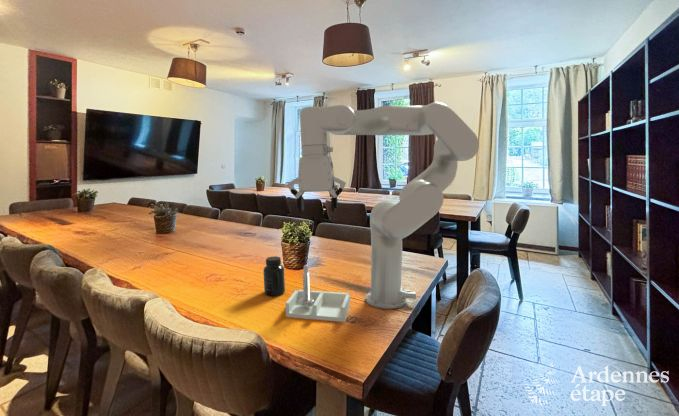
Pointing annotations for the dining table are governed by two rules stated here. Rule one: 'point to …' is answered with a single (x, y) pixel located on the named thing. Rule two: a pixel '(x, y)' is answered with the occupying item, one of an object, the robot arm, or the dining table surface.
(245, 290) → the dining table surface
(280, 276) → the supplement bottle
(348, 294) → the rack
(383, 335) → the dining table surface
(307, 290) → the screw
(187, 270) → the dining table surface
